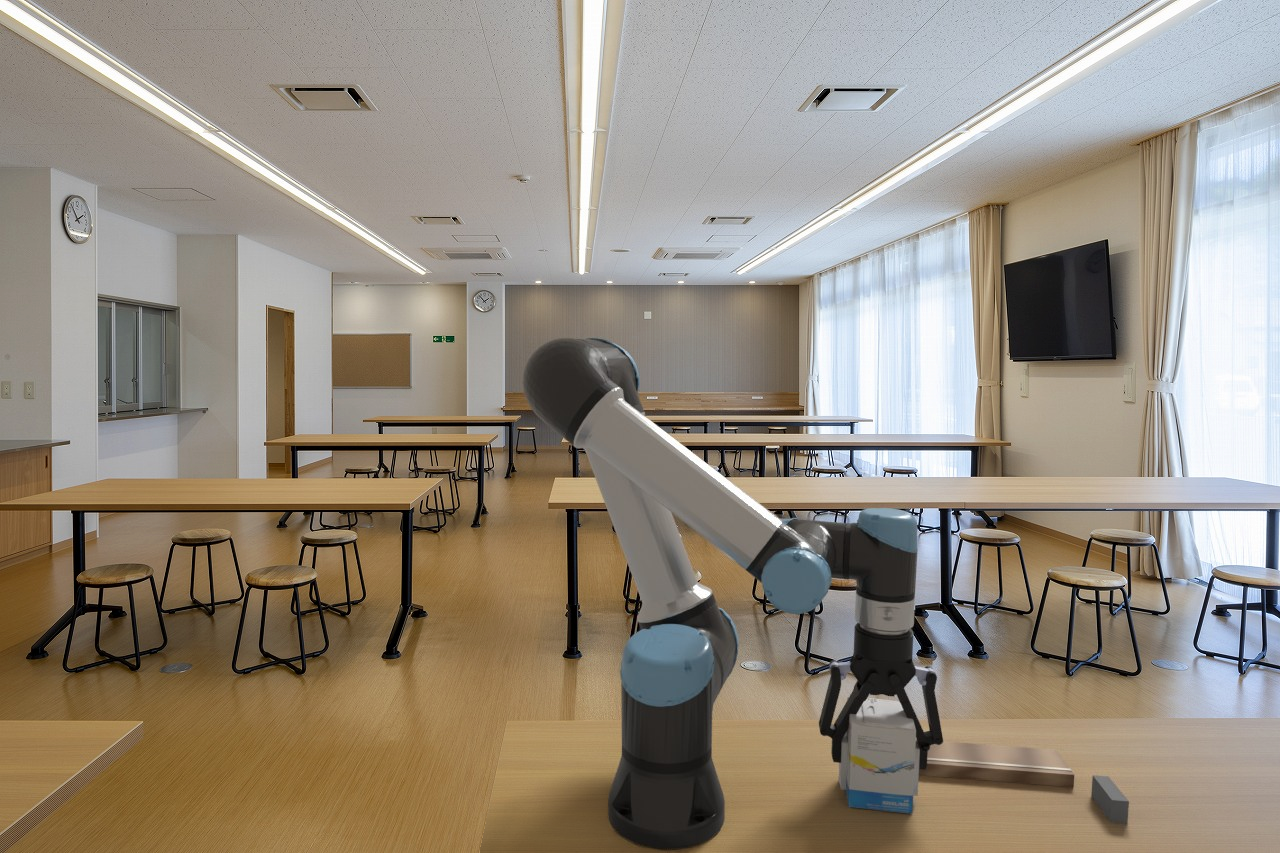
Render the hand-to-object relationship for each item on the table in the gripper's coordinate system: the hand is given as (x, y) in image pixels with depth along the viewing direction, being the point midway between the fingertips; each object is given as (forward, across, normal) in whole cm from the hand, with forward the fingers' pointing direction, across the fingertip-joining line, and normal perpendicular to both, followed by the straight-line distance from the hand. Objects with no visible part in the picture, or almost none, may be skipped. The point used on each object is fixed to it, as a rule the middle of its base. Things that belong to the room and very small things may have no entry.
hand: (877, 786), depth 107 cm
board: (+1, +14, +10) cm, 17 cm away
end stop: (+1, +30, +1) cm, 30 cm away
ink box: (+1, 0, 0) cm, 1 cm away
